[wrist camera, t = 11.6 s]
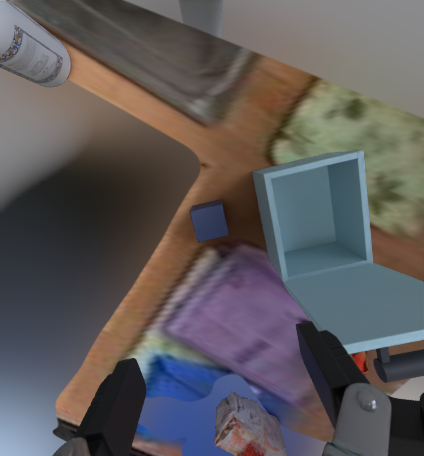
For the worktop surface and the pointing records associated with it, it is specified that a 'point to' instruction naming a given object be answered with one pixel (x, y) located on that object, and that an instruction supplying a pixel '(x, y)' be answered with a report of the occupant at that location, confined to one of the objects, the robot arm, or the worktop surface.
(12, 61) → the bath foam
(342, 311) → the lid
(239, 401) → the food item
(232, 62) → the worktop surface
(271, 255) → the light blue storage bin
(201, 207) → the block
